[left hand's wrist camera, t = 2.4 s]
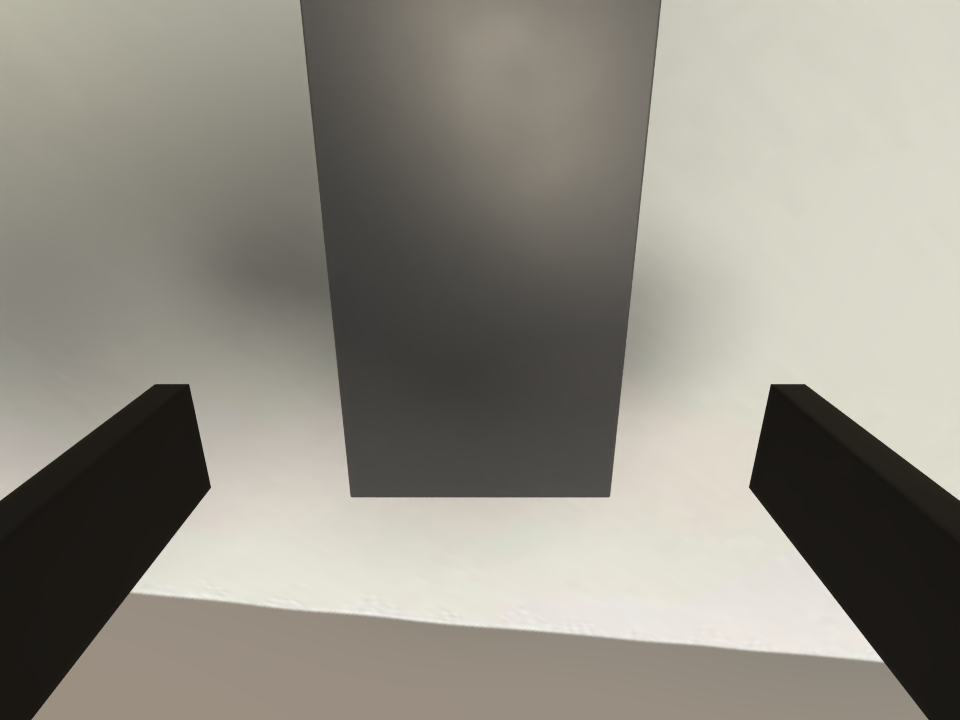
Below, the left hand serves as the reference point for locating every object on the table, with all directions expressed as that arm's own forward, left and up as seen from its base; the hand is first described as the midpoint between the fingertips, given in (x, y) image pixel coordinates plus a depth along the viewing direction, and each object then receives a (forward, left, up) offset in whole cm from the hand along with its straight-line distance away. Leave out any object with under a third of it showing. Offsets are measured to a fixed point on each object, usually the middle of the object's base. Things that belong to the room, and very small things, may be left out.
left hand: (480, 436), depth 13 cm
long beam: (-3, +32, -13) cm, 35 cm away
